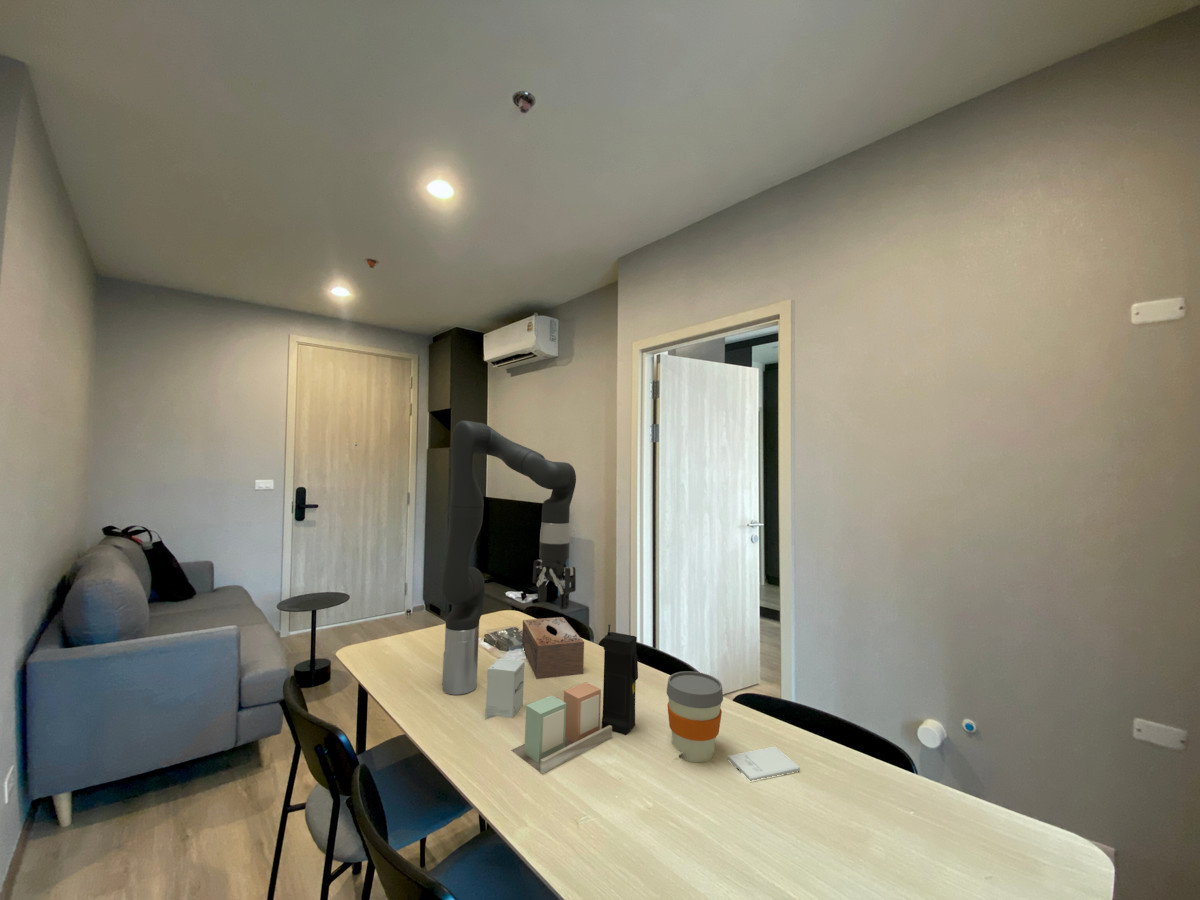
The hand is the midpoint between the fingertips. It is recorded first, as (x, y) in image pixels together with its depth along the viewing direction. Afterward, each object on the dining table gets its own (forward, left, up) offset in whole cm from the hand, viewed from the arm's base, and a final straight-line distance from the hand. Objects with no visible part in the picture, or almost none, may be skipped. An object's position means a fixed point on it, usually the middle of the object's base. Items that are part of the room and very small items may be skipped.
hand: (552, 605), depth 120 cm
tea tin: (+12, -11, -27) cm, 31 cm away
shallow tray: (+13, -6, -28) cm, 31 cm away
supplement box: (-9, -7, -28) cm, 31 cm away
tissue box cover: (-29, +24, -29) cm, 47 cm away
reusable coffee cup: (+32, +16, -28) cm, 46 cm away
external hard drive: (+45, +23, -29) cm, 58 cm away
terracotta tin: (+13, 0, -27) cm, 29 cm away
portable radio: (+16, +9, -28) cm, 34 cm away
